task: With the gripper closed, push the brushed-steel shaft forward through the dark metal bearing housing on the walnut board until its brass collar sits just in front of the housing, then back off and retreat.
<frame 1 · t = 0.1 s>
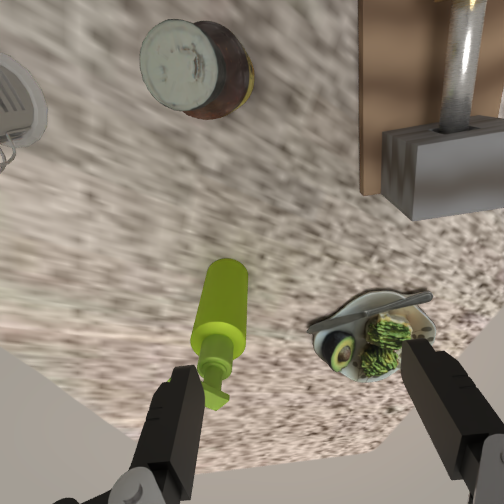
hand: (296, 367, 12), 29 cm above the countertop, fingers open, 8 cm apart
sauce bottle: (223, 77, 33), on the countertop
shaft: (464, 41, 27), point 6 cm above the countertop, slide at 0.0 cm
soap dispenser: (224, 273, 45), on the countertop
salad plate: (366, 333, 51), on the countertop
french press: (9, 108, 35), on the countertop
bearing block: (426, 81, 33), on the countertop
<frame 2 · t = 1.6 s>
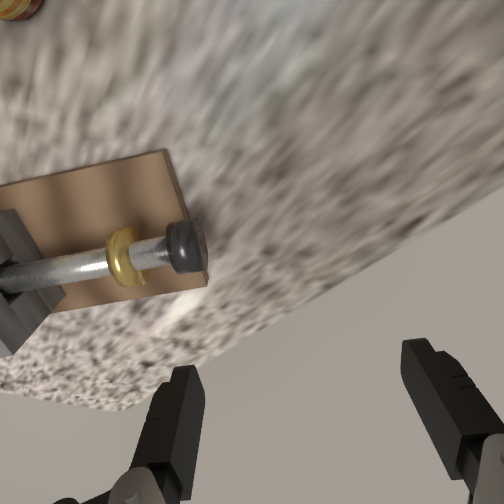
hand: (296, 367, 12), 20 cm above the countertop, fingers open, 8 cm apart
shaft: (86, 265, 27), point 6 cm above the countertop, slide at 0.0 cm
bearing block: (86, 240, 32), on the countertop
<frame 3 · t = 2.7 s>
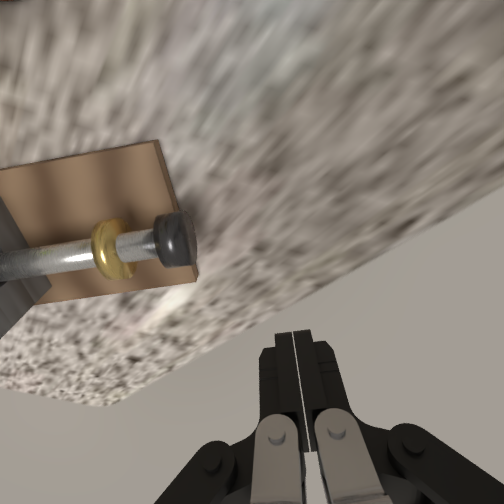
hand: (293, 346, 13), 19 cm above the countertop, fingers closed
shaft: (71, 256, 26), point 6 cm above the countertop, slide at 0.0 cm
bearing block: (74, 231, 32), on the countertop
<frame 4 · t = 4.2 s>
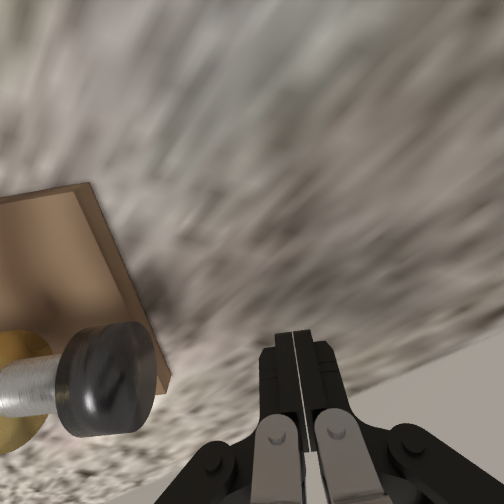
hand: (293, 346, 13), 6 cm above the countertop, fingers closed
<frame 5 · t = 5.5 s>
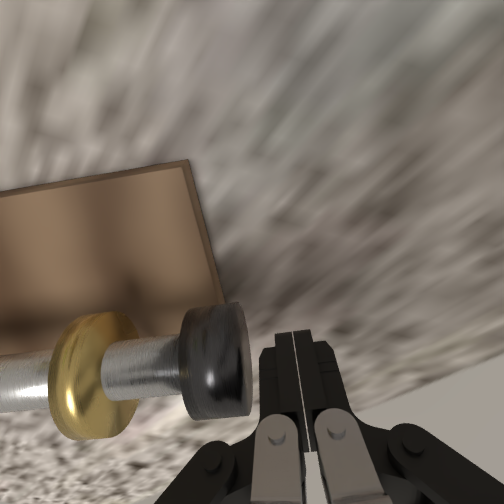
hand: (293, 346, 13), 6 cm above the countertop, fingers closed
shaft: (20, 381, 14), point 6 cm above the countertop, slide at 0.4 cm, touching gripper
bearing block: (44, 303, 19), on the countertop
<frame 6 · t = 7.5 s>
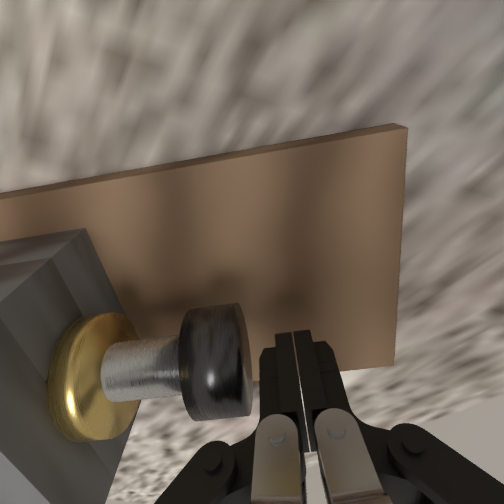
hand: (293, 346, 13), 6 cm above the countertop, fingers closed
shaft: (19, 383, 14), point 6 cm above the countertop, slide at 10.0 cm, touching gripper
bearing block: (196, 283, 19), on the countertop
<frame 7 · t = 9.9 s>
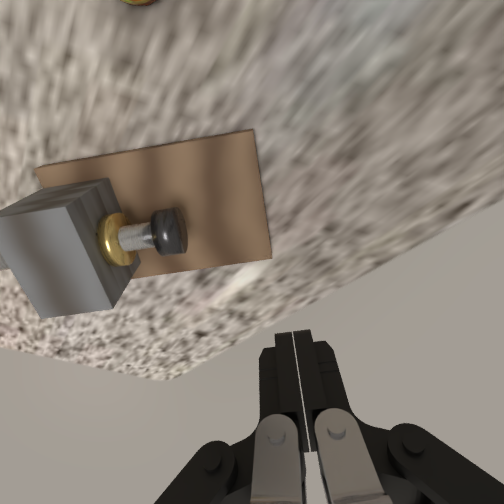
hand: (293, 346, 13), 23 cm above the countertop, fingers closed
shaft: (79, 245, 30), point 6 cm above the countertop, slide at 10.0 cm
bearing block: (165, 212, 35), on the countertop
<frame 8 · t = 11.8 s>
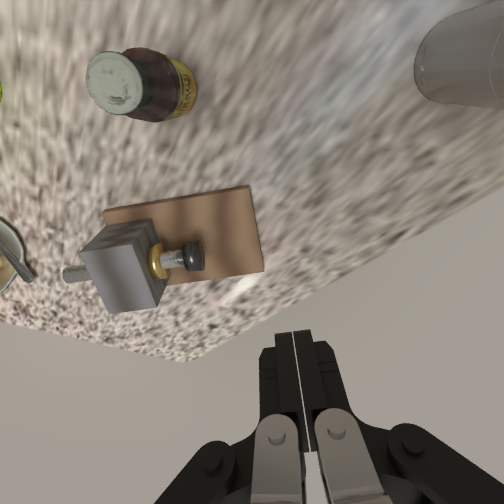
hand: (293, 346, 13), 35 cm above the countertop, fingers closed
sauce bottle: (175, 87, 40), on the countertop
shaft: (133, 265, 45), point 6 cm above the countertop, slide at 10.0 cm
bearing block: (188, 239, 50), on the countertop
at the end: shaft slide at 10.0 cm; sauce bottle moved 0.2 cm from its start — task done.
